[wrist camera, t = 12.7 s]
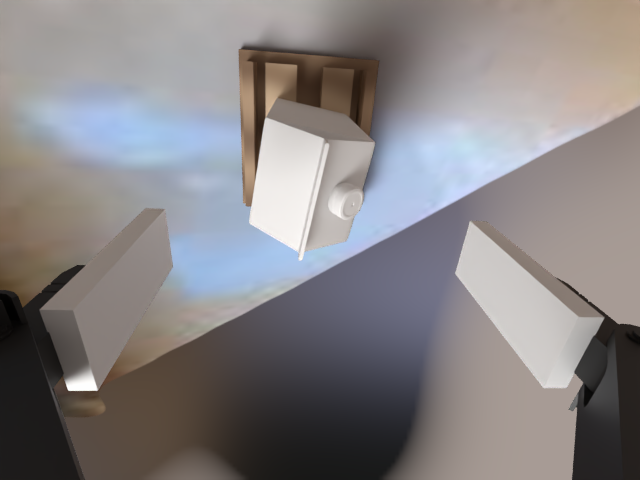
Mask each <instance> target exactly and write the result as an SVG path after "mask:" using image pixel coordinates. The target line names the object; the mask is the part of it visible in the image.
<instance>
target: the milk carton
mask: <svg viewBox="0 0 640 480" xmlns="http://www.w3.org/2000/svg"><path fill="white" fill-rule="evenodd" d="M374 147H375V142H374V141H373V140H372V139H371V138H370V137H369V136H368V135H367V134H366V133H365V132H364V131H363V130H362V129H361V128H360V127H359V126H357V125H356V124H355V123H354V122H353V121H352V120H351V119H350V118H349V117H348V116H347V115H346V114H343V113H339V112H335V111H331V110H326V109H322V108H318V107H314V106H310V105H305V104H301V103H297V102H293V101H289V100H284V99H280V98H277V99H276V101H275V102H274V104H273V106H272V108H271V109H270V111H269V113H268V115H267V116H266V118H265V122H264V127H263V133H262V140H261V147H260V153H259V160H258V166H257V173H256V179H255V186H254V192H253V199H252V206H251V212H250V221H249V222H250V224H251V225H253V226H255V227H256V228H258V229H260V230H262V231H263V232H265V233H267V234H268V235H270V236H272V237H274V238H275V239H277V240H279V241H280V242H282V243H284V244H286V245H287V246H289V247H291V248H292V249H294V250H296V251H298V255H299V260H300V261H301V260H302V259H303V255H304V252H306V251H310V250H314V249H317V248H321V247H325V246H329V245H333V244H337V243H341V242H345V241H346V240H347V239H348V236H349V233H350V230H351V227H352V223H353V220H354V217H355V215H356V214H357V213H358V212H359V210H360V209H361V206H362V204H363V200H364V193H363V191H362V189H363V186H364V182H365V179H366V176H367V172H368V169H369V165H370V162H371V158H372V155H373V151H374Z"/></svg>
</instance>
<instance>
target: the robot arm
mask: <svg viewBox="0 0 640 480" xmlns="http://www.w3.org/2000/svg"><path fill="white" fill-rule="evenodd" d="M172 267H173V263H172V256H171V249H170V242H169V235H168V227H167V220H166V213H165V209H149V208H145V209H144V210H143V211H142V212H141V213H140V214H139V215H138V216H137V217H136V218H135V219H134V220H133V221H132V222H131V223H130V224H129V225H128V226H127V227H126V228H125V229H123V230H122V231H121V232H120V233H119V234H118V235H117V236H116V237H115V238H114V239H113V240H112V241H111V242H110V243H109V244H108V245H107V246H106V247H105V248H104V249H102V250H101V251H100V252H99V253H98V254H97V255H96V256H95V257H94V258H93V259H92V260H91V261H90V262H89V263H88V264H87V265H77V266H75V267H73V268H71V269H69V270H67V271H65V272H63V273H61V274H60V275H59V276H58V277H57V278H56V279H55V280H53V281H52V282H51V285H48V286H47V287H46V288H44V289H43V290H42V293H39V294H38V295H37V296H35V297H34V298H33V299H32V300H31V301H30V302H29V303H28V304H26V305H25V306H24V307H23V308H22V305H21V303H20V300H19V297H18V296H17V295H16V294H15V293H14V292H11V291H7V290H0V480H85V478H84V475H83V472H82V469H81V466H80V463H79V460H78V457H77V455H76V452H75V449H74V446H73V443H72V440H71V437H70V434H69V431H68V428H67V425H66V422H65V419H64V416H63V413H62V411H61V408H60V405H59V402H58V399H57V396H56V393H55V391H54V386H55V385H56V384H57V382H58V381H59V380H60V378H61V377H62V376H63V377H64V380H65V383H66V385H67V388H68V391H87V390H98V389H99V388H100V386H101V384H102V383H103V381H104V379H105V378H106V376H107V374H108V373H109V371H110V369H111V368H112V366H113V364H114V363H115V361H116V360H117V358H118V356H119V355H120V353H121V351H122V350H123V348H124V346H125V345H126V343H127V341H128V340H129V338H130V337H131V335H132V333H133V332H134V330H135V328H136V327H137V325H138V323H139V322H140V320H141V318H142V317H143V315H144V314H145V312H146V310H147V309H148V307H149V305H150V304H151V302H152V300H153V299H154V297H155V295H156V294H157V292H158V290H159V289H160V287H161V286H162V284H163V282H164V281H165V279H166V277H167V276H168V274H169V272H170V271H171V269H172ZM455 274H456V275H457V277H458V278H459V279H460V280H461V282H462V283H463V284H464V285H465V287H466V288H467V289H468V291H469V292H470V293H471V295H472V296H473V297H474V299H475V300H476V301H477V302H478V304H479V305H480V306H481V308H482V309H483V310H484V311H485V313H486V314H487V315H488V317H489V318H490V319H491V321H492V322H493V323H494V324H495V326H496V327H497V328H498V330H499V331H500V332H501V334H502V335H503V336H504V337H505V339H506V340H507V341H508V343H509V344H510V345H511V346H512V348H513V349H514V350H515V352H516V353H517V354H518V356H519V357H520V358H521V360H522V361H523V362H524V363H525V365H526V366H527V367H528V369H529V370H530V371H531V372H532V374H533V375H534V376H535V378H536V379H537V380H538V382H539V383H540V384H541V385H542V387H543V388H567V386H568V384H569V382H570V381H571V379H572V377H573V375H574V373H575V374H576V375H577V376H578V377H579V378H580V379H581V380H582V381H583V385H582V387H581V388H580V390H579V392H578V393H577V395H576V397H575V399H574V400H573V402H572V404H571V406H570V408H569V410H571V411H573V410H574V409H575V407H577V420H576V433H575V447H574V461H573V475H572V480H640V327H638V326H634V325H630V324H629V325H628V324H617V323H616V322H615V321H614V320H613V319H611V318H610V317H609V316H608V315H606V314H605V313H604V312H603V311H601V310H600V309H599V308H598V307H596V306H595V305H594V304H592V303H591V302H588V300H587V299H586V298H585V297H584V296H582V295H581V294H579V293H578V292H577V291H576V290H575V289H574V288H572V287H571V286H570V285H569V284H567V283H565V282H564V281H561V280H560V279H558V278H556V277H554V276H553V275H552V274H550V273H549V272H548V271H547V270H546V269H544V268H543V267H542V266H541V265H539V264H538V263H537V262H536V261H534V260H533V259H532V258H531V257H530V256H528V255H527V254H526V253H525V252H523V251H522V250H521V249H520V248H518V247H517V246H516V245H515V244H514V243H512V242H511V241H510V240H508V239H507V238H506V237H505V236H504V235H503V234H501V233H500V232H499V231H498V230H496V229H495V228H494V227H493V226H491V225H490V224H489V223H488V222H485V221H482V222H481V221H470V224H469V227H468V230H467V234H466V237H465V241H464V245H463V248H462V252H461V255H460V259H459V262H458V266H457V269H456V273H455Z"/></svg>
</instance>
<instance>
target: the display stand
mask: <svg viewBox="0 0 640 480" xmlns="http://www.w3.org/2000/svg"><path fill="white" fill-rule="evenodd" d="M378 66H379V60H367V59H354V58H342V57H329V56H317V55H304V54H292V53H279V52H267V51H255V50H242V49H239V76H240V109H241V142H242V175H243V203H246V206H252V199H253V192H254V186H255V179H256V173H257V166H258V160H259V153H260V147H261V140H262V133H263V127H264V122H265V118H266V116H267V115H268V113H269V111H270V109H271V108H272V106H273V104H274V102H275V101H276V99H277V98H280V99H284V100H289V101H293V102H297V103H301V104H305V105H310V106H314V107H318V108H322V109H326V110H331V111H335V112H339V113H343V114H346V115H347V116H348V117H349V118H350V119H351V120H352V121H353V122H354V123H355V124H356V125H357V126H359V127H360V128H361V129H362V130H363V131H364V132H365V133H366V134H367V135H368V136H370V128H371V120H372V113H373V105H374V97H375V89H376V82H377V74H378ZM362 190H363V189H362ZM359 211H360V210H359Z"/></svg>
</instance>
